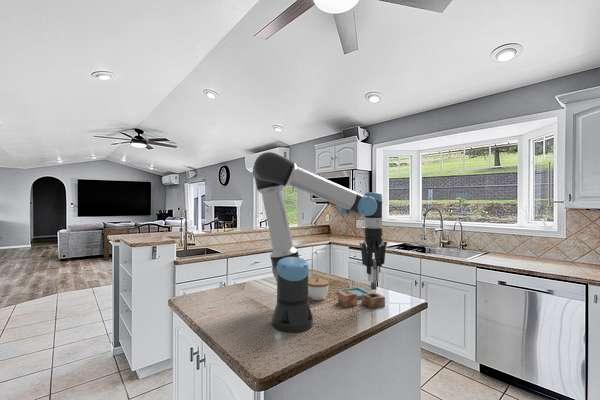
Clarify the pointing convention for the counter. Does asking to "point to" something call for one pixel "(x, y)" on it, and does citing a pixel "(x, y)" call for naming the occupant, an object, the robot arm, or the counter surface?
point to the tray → (356, 291)
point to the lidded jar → (317, 288)
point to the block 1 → (347, 298)
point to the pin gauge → (374, 274)
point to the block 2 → (373, 300)
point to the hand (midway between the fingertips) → (373, 280)
